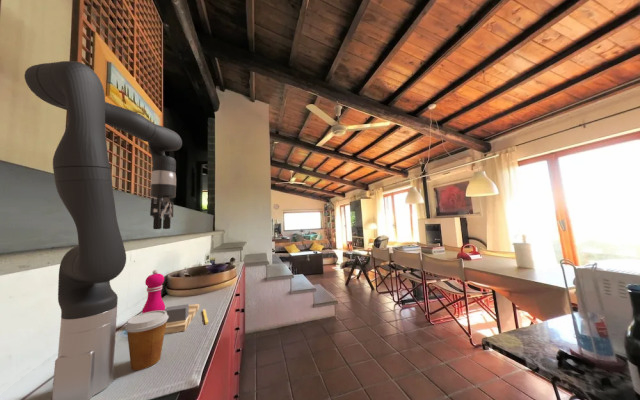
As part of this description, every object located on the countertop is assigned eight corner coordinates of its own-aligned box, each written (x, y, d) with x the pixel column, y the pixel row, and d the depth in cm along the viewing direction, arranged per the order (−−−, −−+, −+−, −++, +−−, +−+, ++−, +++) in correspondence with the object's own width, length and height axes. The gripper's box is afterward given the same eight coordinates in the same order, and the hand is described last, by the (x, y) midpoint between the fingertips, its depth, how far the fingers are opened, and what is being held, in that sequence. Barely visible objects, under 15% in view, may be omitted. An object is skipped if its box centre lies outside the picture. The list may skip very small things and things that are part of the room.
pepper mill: (169, 318, 88) (170, 267, 91) (154, 326, 81) (156, 271, 83) (152, 318, 89) (154, 268, 91) (136, 326, 82) (138, 272, 84)
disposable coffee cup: (144, 376, 54) (146, 325, 55) (112, 373, 56) (115, 323, 57) (175, 353, 63) (176, 310, 65) (147, 351, 65) (149, 309, 66)
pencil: (208, 324, 82) (208, 321, 82) (205, 325, 81) (205, 322, 81) (205, 311, 95) (205, 308, 95) (202, 311, 94) (202, 309, 94)
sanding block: (185, 322, 79) (185, 308, 80) (162, 325, 77) (163, 311, 78) (188, 317, 83) (188, 304, 84) (167, 320, 81) (167, 306, 81)
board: (185, 330, 77) (185, 324, 77) (158, 335, 75) (158, 328, 75) (199, 308, 98) (199, 303, 98) (178, 311, 96) (178, 306, 96)
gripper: (168, 181, 75) (167, 228, 73) (181, 187, 88) (180, 228, 86) (142, 180, 72) (140, 229, 71) (159, 187, 86) (158, 229, 84)
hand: (162, 229), depth 79 cm, fingers open, 8 cm apart
